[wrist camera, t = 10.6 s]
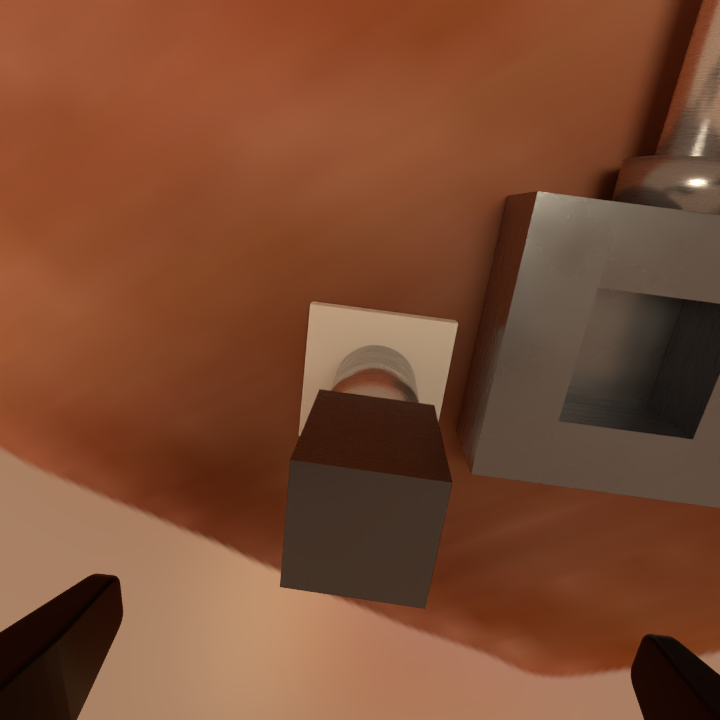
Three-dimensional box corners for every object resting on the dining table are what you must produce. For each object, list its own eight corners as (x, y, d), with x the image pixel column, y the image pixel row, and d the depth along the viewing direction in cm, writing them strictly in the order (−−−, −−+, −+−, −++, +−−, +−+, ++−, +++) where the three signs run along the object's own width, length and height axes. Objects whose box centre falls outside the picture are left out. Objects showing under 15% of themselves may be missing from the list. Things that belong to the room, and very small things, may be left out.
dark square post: (421, 350, 18) (452, 482, 9) (409, 425, 19) (424, 608, 10) (339, 340, 18) (290, 459, 9) (331, 414, 19) (280, 587, 10)
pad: (455, 320, 18) (458, 323, 18) (430, 447, 20) (432, 454, 20) (312, 301, 18) (310, 303, 18) (300, 429, 20) (298, 436, 20)
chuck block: (908, -110, 14) (1086, -218, 10) (678, 460, 20) (739, 512, 16) (581, -149, 14) (647, -270, 10) (456, 430, 20) (471, 475, 17)
